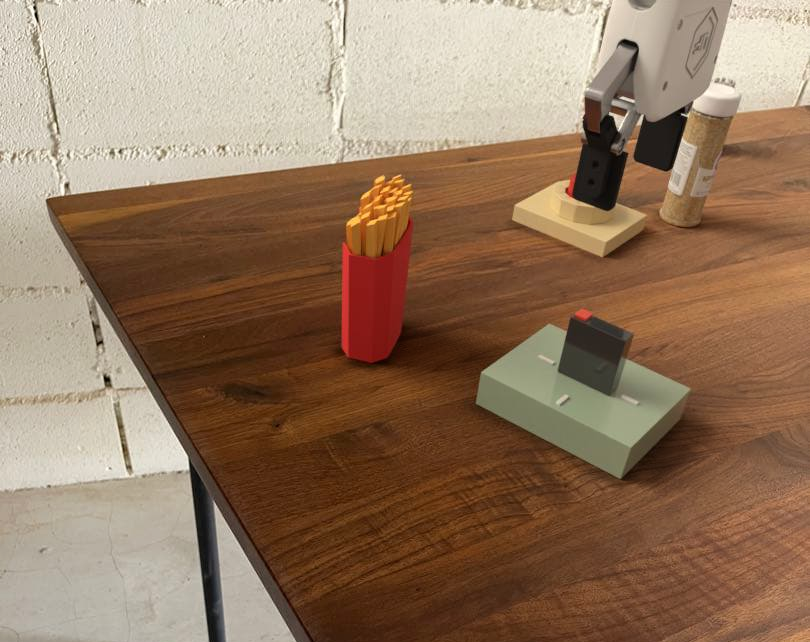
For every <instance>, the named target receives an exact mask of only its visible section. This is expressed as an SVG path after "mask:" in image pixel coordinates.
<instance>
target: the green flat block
mask: <svg viewBox="0 0 810 642" xmlns="http://www.w3.org/2000/svg"><path fill="white" fill-rule="evenodd" d="M566 334H567V330H564V329H563V328H560V327H558V326H556V325H554V324H551V323H547V325H545V326H543V327H542V328H541V329H539V330H538V331H537V332H535V333H534V334H532V335H530V336H529V337H528V338H527V339H525V340H524V341H522V342H521V343H519V344H518V345H517V346H516V347H514V348H513V349H511V350H510V351H509V352H507V353H506V354H504V355H503V356H502V357H500V358H499V359H498V360H496V361H495V362H493V363H491V364H490V365H489V366H488V367H486V368H485V369H483V370H482V371H481V372H480V375H479V376H480V377H479V382H478V387H477V388H478V389H477V394H476V400H475V405H477V406H479V407H481V408H483V409H484V410H487V411H489V412H491V413H493V414H494V415H496V416H498V417H500V418H502V419H504V420H506V421H508V422H510V423H512V424H514V425H516V426H517V427H519V428H520V429H523V430H525V431H527V432H529V433H530V434H533V435H535V436H537V437H538V438H540V439H542V440H544V441H546V442H548V443H550V444H552V445H554V446H556V447H557V448H559V449H561V450H563V451H565V452H567V453H570V454H571V455H572V456H575V457H576V458H579V459H581V461H582V460H583V461H584V462H586V463H588V464H590V465H592V466H594V467H596V468H598V469H600V470H602V471H603V472H605V473H607V474H610V475H612V476H613V477H615V478H617V479H618V480H621V479H623V477H625V475H626V474H627V473H628V472H629V471H630V470H631V469H632V468H633V467H634V466H635V465H636V464H638V463H639V461H641V459H642V458H643V457H644V456H645V455H646V454H647V453H648V452H649V451H650V450H651V449H652V448H653V447H655V446H656V444H657V443H658V442H659V441H660V440H661V439H662V438H663V437H665V435H667V433H669V432H670V430H671V429H672V428H674V426H675V425H676V424H677V423H678V422H680V420H681V418H682V415H683V412H684V410H685V407H686V405H687V402H688V399H689V396H690V394H691V391H692V388H691V387H688V386H687V385H684V384H682V383H680V382H677V381H676V380H673V379H671V378H669V377H667V376H665V375H662V374H660V373H658V372H656V371H654V370H652V369H649V368H647V367H645V366H643V365H640V364H639V363H637V362H634V361H633V360H630V359H628V358H627V359H626V362H625V365H624V369H623V372H622V375H621V378H620V382H619V385H618V388H617V389H616V390H615V391H614V392H613V393H611V394H610V395H606V394H604V393H602V392H600V391H598V390H596V389H594V388H592V387H590V386H588V385H586V384H583V383H581V382H579V381H577V380H575V379H573V378H571V377H569V376H567V375H565V374H562V373H560V372H558V371H557V370H558V366H559V362H560V358H561V354H562V350H563V346H564V342H565V338H566Z"/></svg>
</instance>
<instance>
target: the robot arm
mask: <svg viewBox="0 0 810 642" xmlns="http://www.w3.org/2000/svg"><path fill="white" fill-rule="evenodd" d="M732 4H733V0H612V2H611V6H610V9H609V13H608V17H607V21H606V25H605V28H604V32H603V38H602V41H601V46H600V50H599V56H598V60H597V64H596V69H595V75H594V78H593V79H592V81H590V83H589V84H588V86H587V87H586V90H585V92H584V114H583V116H582V121H581V122H582V129H583V131H582V134H581V138H580V141H581V144H582V146H581V150H580V154H579V160H578V164H577V169H576V172H575V174H576V177H575V182H574V187H573V191H572V196H573V198H574V199H575V200H578V201H580V202H583V203H586V204H588V205H591V206H594V207H596V208H599V209H602V210H604V211H610V210H611V209H613V208H614V207H615V205H616V203H617V202H616V201H618V197H619V193H620V189H621V185H622V181H623V177H624V173H625V169H626V165H627V161H628V157H629V152H627V151H624V149H625V148H626V146H627V144H628V142H629V140H630V138H631V136H632V134H633V131H634V130H635V128H636V126H637V124H638V122H639V120H640V119H641V117H642V115H643V117H642V120H641V125H640V128H639V132H638V136H637V140H636V144H635V148H634V151H633V156H632V157H633V160H634V162H636V163H639V164H641V165H644V166H648V167H651V168H654V169H656V170H660V171H662V172H666V173H667V172H670V171H672V170H673V167H674V164H675V160H676V157H677V153H678V150H679V146H680V143H681V140H682V136H683V135H684V131H685V128H686V125H687V122H688V118H689V115H688V114H690V110H691V108H692V106H693V102H694V100H695V99H697V98H698V97H700V96H701V95H703V94H704V93H705V91H706V90H707V89H708V87H709V85H710V83H712V79H713V76H714V72H715V68H716V65H717V61H718V58H719V53H720V51H721V45H722V42H723V38H724V35H725V31H726V27H727V23H728V19H729V15H730V10H731V7H732ZM622 97H623V98H627V99H629V100H633V101H634V102H632V101H629V100H625V99H622ZM611 114H613V115H611ZM614 115H617V116H620V117H623V119H622V121H621V124H620V125H619V127H618V128H617V124H616V120H615V117H614ZM687 115H688V116H687Z"/></svg>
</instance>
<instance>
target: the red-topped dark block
mask: <svg viewBox="0 0 810 642" xmlns="http://www.w3.org/2000/svg"><path fill="white" fill-rule="evenodd" d="M566 331H567V334H566V338H565V342H564V346H563V350H562V354H561V358H560V362H559V366H558V370H557V371H558V372H560V373H562V374H565V375H567V376H569V377H571V378H573V379H575V380H577V381H579V382H581V383H583V384H586V385H588V386H590V387H592V388H594V389H596V390H598V391H600V392H602V393H604V394H606V395H610V394H611V393H613V392H614V391H615V390H616V389H617V388H618V385H619V382H620V378H621V375H622V372H623V369H624V365H625V362H626V359H628V355H629V353H630V349H631V346H632V343H633V339H634V336H635V334H634V333H633V332H631V331H629V330H627V329H624V328H622V327H620V326H617V325H616V324H613V323H610V322H608V321H606V320H604V319H601V318H599V317H597V316H595V315H594V313H593V312H591V311H588V310H586V309H585V308H580V309H578V310H577V311H576V312H575V313H574V314H572V315H571V316H570V318H569V322H568V326H567V330H566Z"/></svg>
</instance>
